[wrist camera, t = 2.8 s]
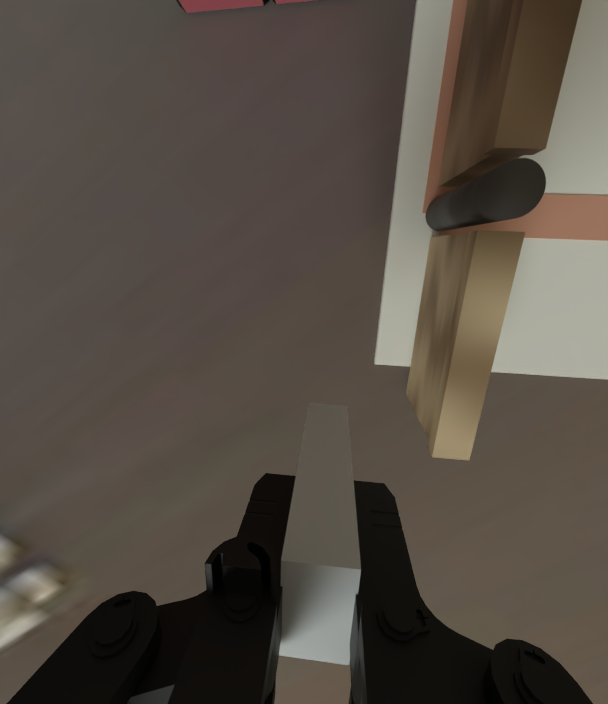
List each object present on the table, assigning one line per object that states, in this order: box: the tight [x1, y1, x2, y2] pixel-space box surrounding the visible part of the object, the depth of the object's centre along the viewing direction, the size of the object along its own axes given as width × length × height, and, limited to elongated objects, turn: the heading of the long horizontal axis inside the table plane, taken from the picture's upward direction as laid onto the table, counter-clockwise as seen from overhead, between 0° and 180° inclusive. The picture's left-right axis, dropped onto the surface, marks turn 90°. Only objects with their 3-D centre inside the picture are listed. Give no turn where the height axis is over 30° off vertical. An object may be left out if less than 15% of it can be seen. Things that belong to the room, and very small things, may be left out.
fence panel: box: [406, 230, 525, 460], centre depth 17 cm, size 11×2×7 cm, turn 178°
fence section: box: [425, 0, 582, 231], centre depth 13 cm, size 12×2×8 cm, turn 178°
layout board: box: [374, 0, 608, 379], centre depth 18 cm, size 22×18×1 cm
